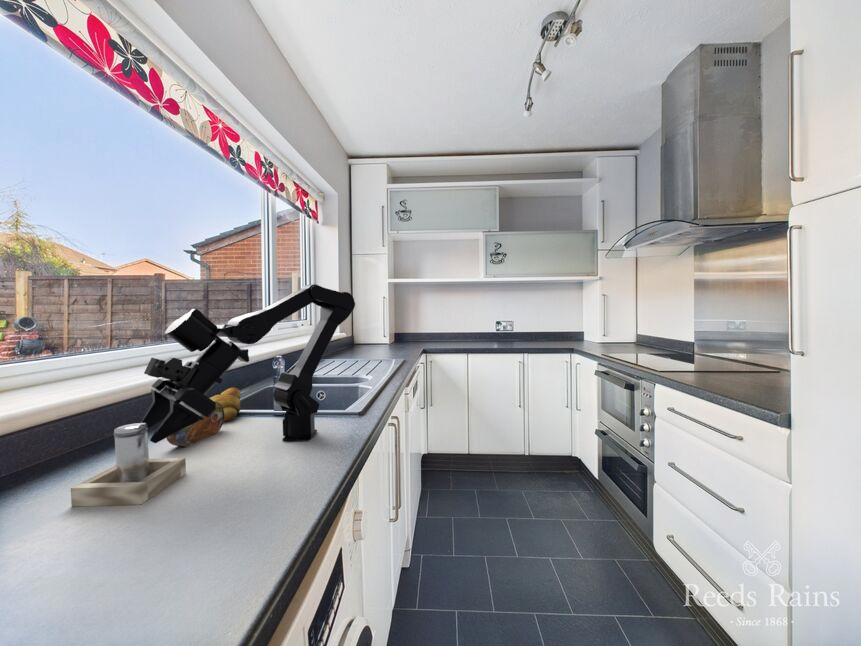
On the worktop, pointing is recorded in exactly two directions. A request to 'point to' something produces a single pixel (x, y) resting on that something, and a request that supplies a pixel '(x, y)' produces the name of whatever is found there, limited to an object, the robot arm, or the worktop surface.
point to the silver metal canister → (131, 452)
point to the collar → (127, 485)
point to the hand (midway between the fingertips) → (145, 436)
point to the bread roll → (229, 402)
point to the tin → (199, 429)
